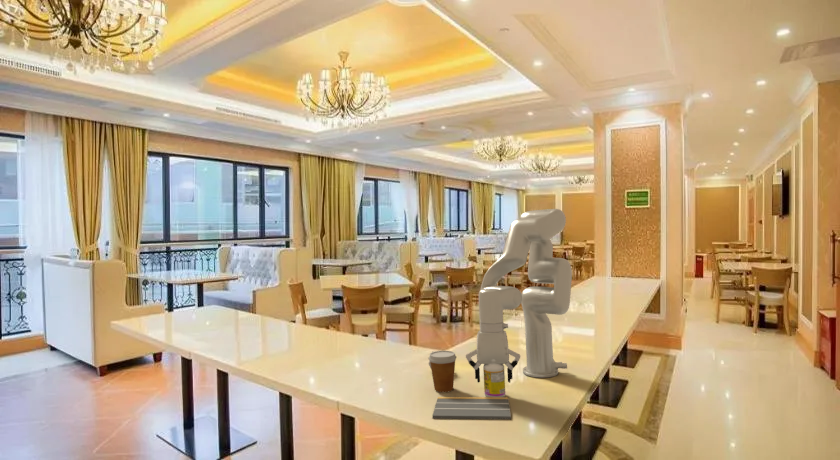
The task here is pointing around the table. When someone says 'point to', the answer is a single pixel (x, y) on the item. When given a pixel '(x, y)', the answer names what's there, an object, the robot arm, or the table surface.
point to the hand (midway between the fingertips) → (493, 381)
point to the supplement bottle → (494, 380)
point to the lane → (472, 408)
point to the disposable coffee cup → (443, 370)
